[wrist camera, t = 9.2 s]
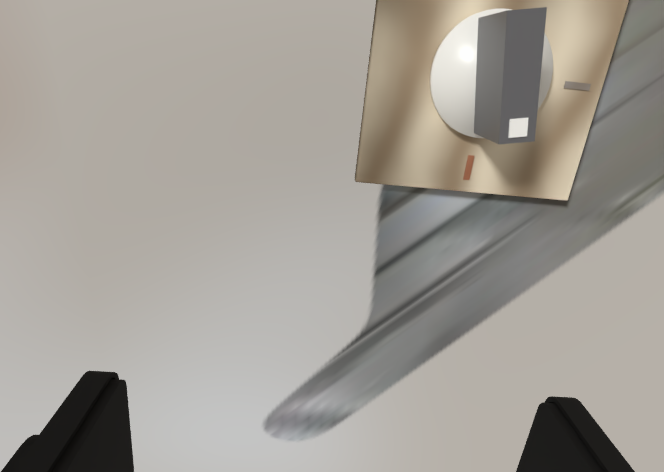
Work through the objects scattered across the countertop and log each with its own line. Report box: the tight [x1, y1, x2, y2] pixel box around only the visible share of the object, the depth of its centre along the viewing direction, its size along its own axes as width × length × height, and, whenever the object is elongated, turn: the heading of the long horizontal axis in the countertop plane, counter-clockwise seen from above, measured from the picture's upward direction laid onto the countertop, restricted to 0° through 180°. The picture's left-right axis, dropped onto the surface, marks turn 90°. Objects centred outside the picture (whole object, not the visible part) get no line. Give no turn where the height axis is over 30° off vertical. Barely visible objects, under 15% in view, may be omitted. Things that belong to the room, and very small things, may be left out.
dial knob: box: [429, 7, 553, 144], centre depth 30 cm, size 9×9×6 cm
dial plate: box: [355, 0, 629, 201], centre depth 34 cm, size 18×18×1 cm
